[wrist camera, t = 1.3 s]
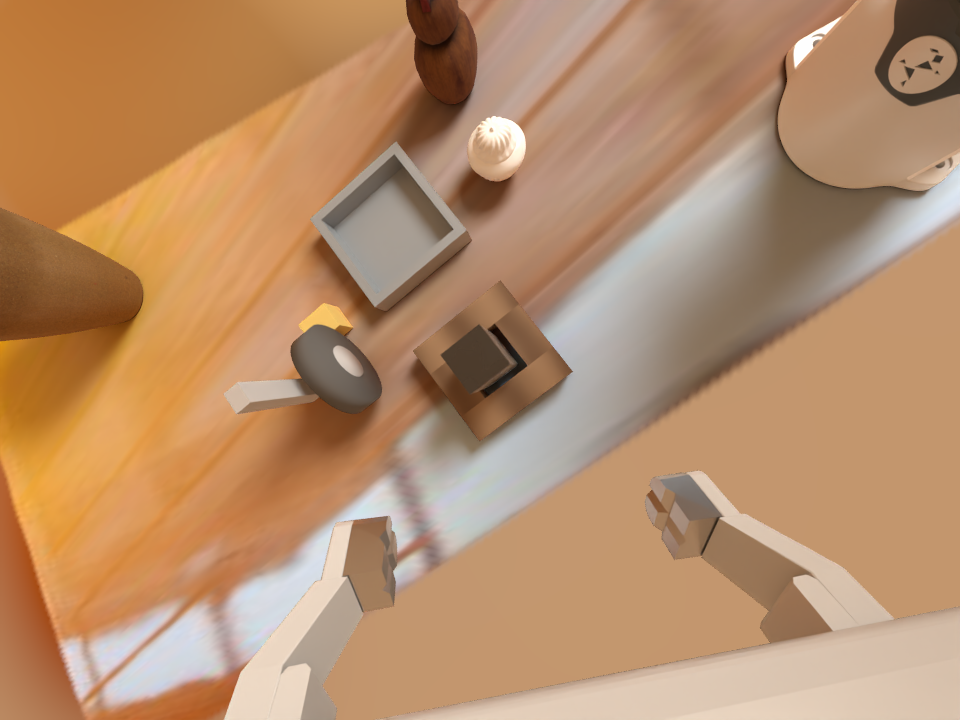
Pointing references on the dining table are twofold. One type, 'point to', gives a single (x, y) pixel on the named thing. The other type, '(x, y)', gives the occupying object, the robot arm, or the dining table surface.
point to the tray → (390, 228)
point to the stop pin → (479, 359)
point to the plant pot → (58, 283)
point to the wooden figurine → (443, 48)
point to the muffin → (496, 149)
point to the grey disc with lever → (316, 371)
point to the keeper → (525, 339)
